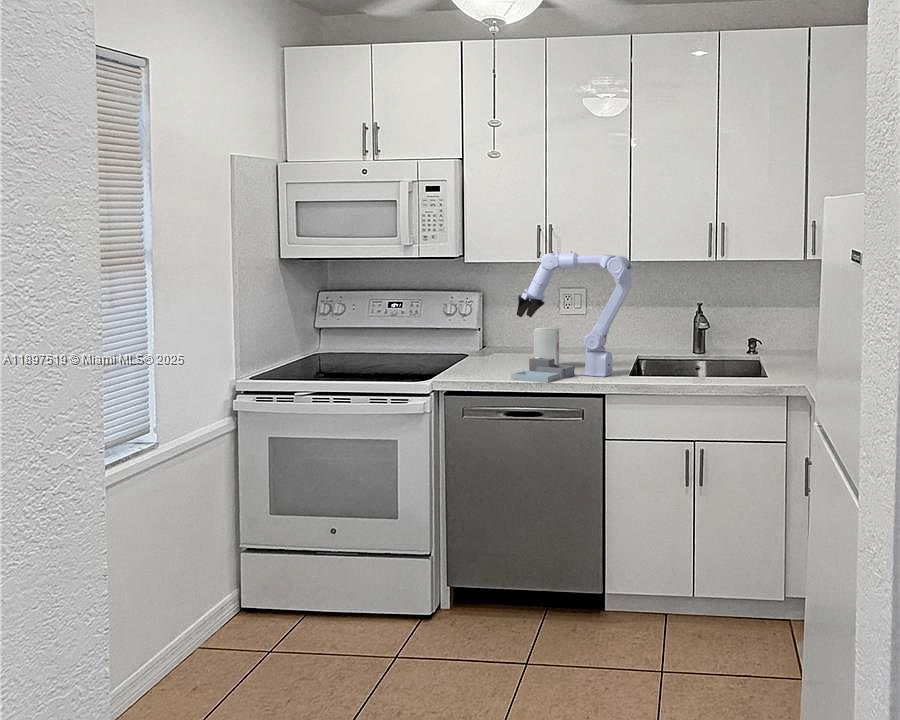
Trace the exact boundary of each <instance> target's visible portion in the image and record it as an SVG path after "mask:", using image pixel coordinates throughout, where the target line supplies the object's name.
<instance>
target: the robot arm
mask: <svg viewBox="0 0 900 720" xmlns="http://www.w3.org/2000/svg"><path fill="white" fill-rule="evenodd" d="M579 265H583V266H585V265H587V266H588V265H591V266H592V265H597V266H601V267H602V268H603V269H606V270H607V271H608V273H609V274H610V275H611V276H612V278H613V280H614V282H615V284H616V286H615V288H614V290H613V291H612V294H611V296H610V297H609V299H608V301H607V303H606V305H605V307H604V309H603V311H602V313H601V314H600V316H599V317H598V320H597V321H596V324H595V325H594V326H593V328H592V329H591V330H590V332H589V333H588V334H586V336H585V337H584V339H583V344H584V347H585V349H584V356H585V357H584V359H585V360H584V372H583V373H582V372H581V373H580V376H591V377H601V378H605V377H608V376H611V375H614V373H613V354H612V352H611V351H607V350H606V348H605V345H606V344H607V336H608V335H609V332H610V328H611V326H612V324H613V322H614V320H615V318H616V316H617V315H618V313H619V311H620V309H621V308H622V305H623V304H624V301H625V299H626V298H627V296H628V294H629V293H630V290H631V288H632V286H633V284H632V283H633V281H632V265H631V262H630V260H629V259H628V258H627V257H626V256H624V255H618V256H617V255H614V254H593V255H578V253H576V252H573V250H567V252H560V251H555V253H553V252H551V253H546V254H544V255H542V257H541V259H540V265H539V267H538V269H537V270H536V272H535V275H534V276H533V278H532V281H531V282H530V285H529V287H528V288H525V289H524V292H522V294H520V295H518V299H517V300H518V304H517V311H516V316H518V317H520V318H522V317H523V316H524V315H526V316H528V317H529V318H532V317H533V316H534V315H535V313H536V312H537V311H538V310H539V309H540V308H541V307H542V306H544V304H545V301H544V299H545V298H546V295H545V291H546V289H547V288H548V284H549V283H550V281H551V279H552V277H553V274H554V272H555V269H559V270H563V269H565V270H566V269H576V268H578V267H579ZM525 313H526V314H525Z"/></svg>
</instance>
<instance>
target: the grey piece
mask: <svg viewBox="0 0 900 720" xmlns="http://www.w3.org/2000/svg"><path fill="white" fill-rule="evenodd" d="M535 357H542V358H550V359H555V364H556V365H560V328H559V327H537V328H535V329H534V330H533V358H535Z"/></svg>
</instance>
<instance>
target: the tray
mask: <svg viewBox="0 0 900 720" xmlns="http://www.w3.org/2000/svg"><path fill="white" fill-rule="evenodd" d="M510 375H511V376H510V378H511V379H519V380H518V381H524V380H530V381H529V382H537V381H538V382H537V383H539V382H540V383H552V382H554V381H553V380H555V381H557V380H556V379H558V380H560V379H561V378H560V373H547V372H534V371H529V370H522V371H517V372H514V373H511V374H510Z"/></svg>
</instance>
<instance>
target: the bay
mask: <svg viewBox="0 0 900 720" xmlns="http://www.w3.org/2000/svg"><path fill="white" fill-rule="evenodd" d="M536 372H547V373H560V379H563V378H564V379H567V378H570V376H571V377H573V375H574V376H575V365H569V364H568V365H566V364H559V365H556V364H555V368H552V367H539V366H537V367H536ZM566 377H567V378H566Z"/></svg>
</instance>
